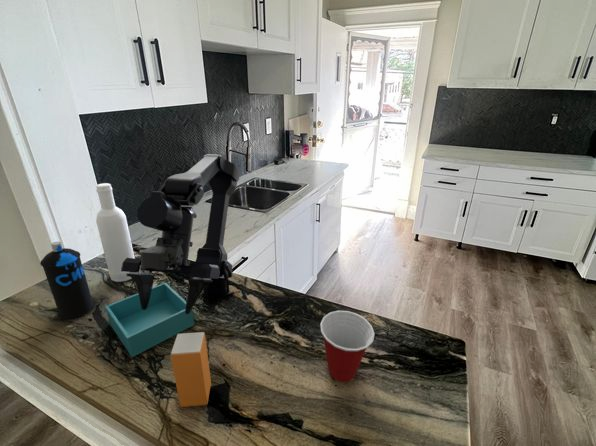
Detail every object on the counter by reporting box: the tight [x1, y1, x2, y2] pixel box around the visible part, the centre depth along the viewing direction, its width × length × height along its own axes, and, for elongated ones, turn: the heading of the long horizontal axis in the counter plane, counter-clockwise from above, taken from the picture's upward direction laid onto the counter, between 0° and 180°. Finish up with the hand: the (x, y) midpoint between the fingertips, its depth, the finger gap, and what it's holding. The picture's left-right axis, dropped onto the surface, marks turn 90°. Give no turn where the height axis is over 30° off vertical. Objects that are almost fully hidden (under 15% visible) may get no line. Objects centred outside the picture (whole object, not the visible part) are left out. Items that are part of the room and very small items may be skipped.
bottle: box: [95, 182, 136, 283], centre depth 95 cm, size 8×8×30 cm
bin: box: [104, 282, 195, 358], centre depth 79 cm, size 15×15×6 cm
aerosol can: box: [39, 241, 96, 320], centre depth 81 cm, size 8×8×20 cm
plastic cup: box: [319, 310, 375, 383], centre depth 65 cm, size 11×11×12 cm
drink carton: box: [170, 331, 212, 408], centre depth 59 cm, size 5×5×13 cm
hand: (165, 311), depth 63 cm, fingers open, 9 cm apart
